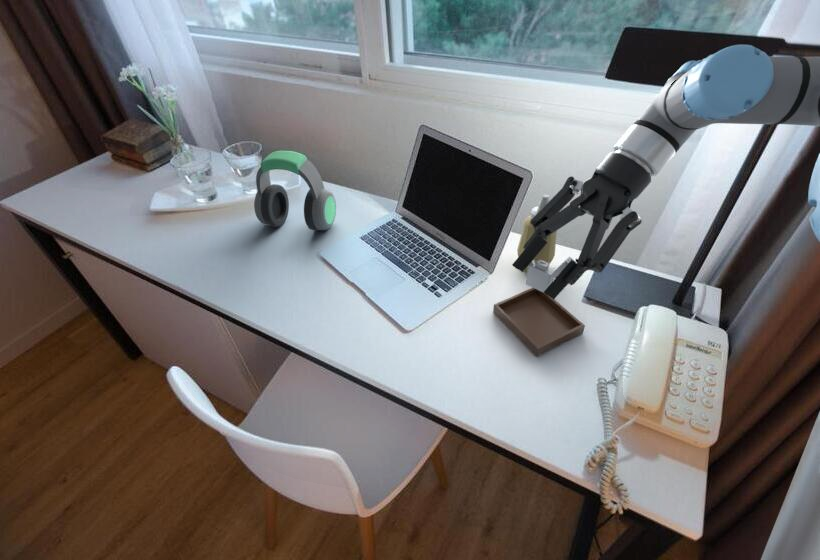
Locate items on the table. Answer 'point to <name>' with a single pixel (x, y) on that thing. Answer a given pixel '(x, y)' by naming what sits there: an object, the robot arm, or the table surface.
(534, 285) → the lighter
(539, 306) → the tray
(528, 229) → the squeeze bottle
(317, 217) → the headphones
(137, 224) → the table surface
